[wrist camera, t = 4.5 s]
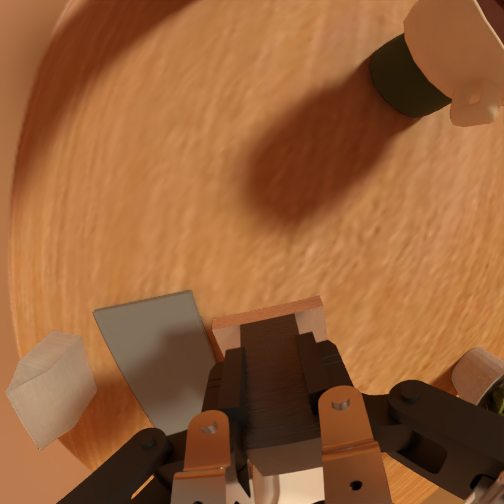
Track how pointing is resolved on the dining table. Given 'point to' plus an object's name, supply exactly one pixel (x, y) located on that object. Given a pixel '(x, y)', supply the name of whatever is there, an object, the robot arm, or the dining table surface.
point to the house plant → (480, 380)
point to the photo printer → (289, 487)
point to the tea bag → (52, 387)
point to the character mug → (446, 61)
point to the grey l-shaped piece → (276, 384)
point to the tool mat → (161, 355)
